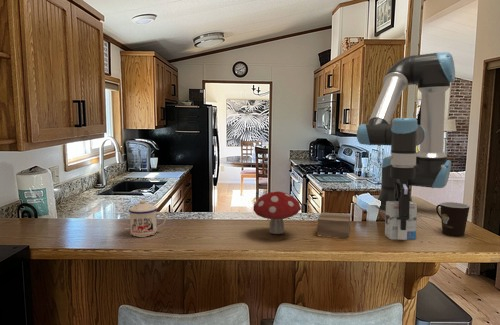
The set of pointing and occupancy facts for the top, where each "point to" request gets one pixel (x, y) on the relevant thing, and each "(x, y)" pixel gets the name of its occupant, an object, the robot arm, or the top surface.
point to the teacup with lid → (144, 218)
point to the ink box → (392, 221)
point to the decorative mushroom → (276, 209)
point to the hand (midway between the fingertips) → (399, 235)
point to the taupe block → (334, 225)
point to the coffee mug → (453, 218)
